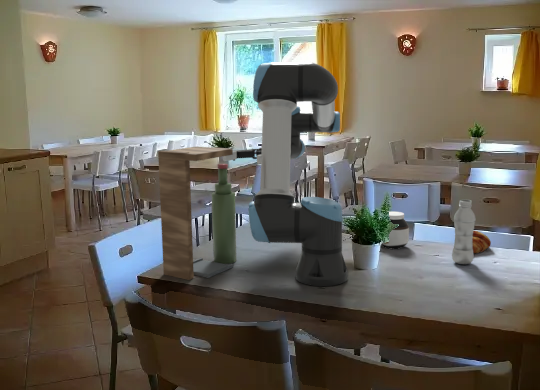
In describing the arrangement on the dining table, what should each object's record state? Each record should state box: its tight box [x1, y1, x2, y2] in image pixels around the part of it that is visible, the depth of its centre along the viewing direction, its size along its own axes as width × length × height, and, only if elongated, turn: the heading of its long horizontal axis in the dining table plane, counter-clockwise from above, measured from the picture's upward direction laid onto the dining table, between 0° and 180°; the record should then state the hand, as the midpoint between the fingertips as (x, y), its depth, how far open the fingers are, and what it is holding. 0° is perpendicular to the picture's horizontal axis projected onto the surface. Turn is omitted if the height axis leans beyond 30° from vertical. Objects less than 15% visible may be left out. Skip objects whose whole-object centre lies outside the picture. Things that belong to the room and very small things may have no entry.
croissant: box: [472, 229, 492, 254], centre depth 201 cm, size 21×10×8 cm, turn 147°
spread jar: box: [380, 211, 410, 250], centre depth 204 cm, size 12×11×12 cm
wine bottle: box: [211, 163, 238, 265], centre depth 188 cm, size 7×7×31 cm
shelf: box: [157, 146, 234, 281], centre depth 177 cm, size 17×14×37 cm
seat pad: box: [193, 257, 234, 279], centre depth 182 cm, size 12×13×1 cm
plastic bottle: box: [451, 199, 476, 265], centre depth 183 cm, size 6×7×20 cm
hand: (240, 158), depth 193 cm, fingers open, 13 cm apart
